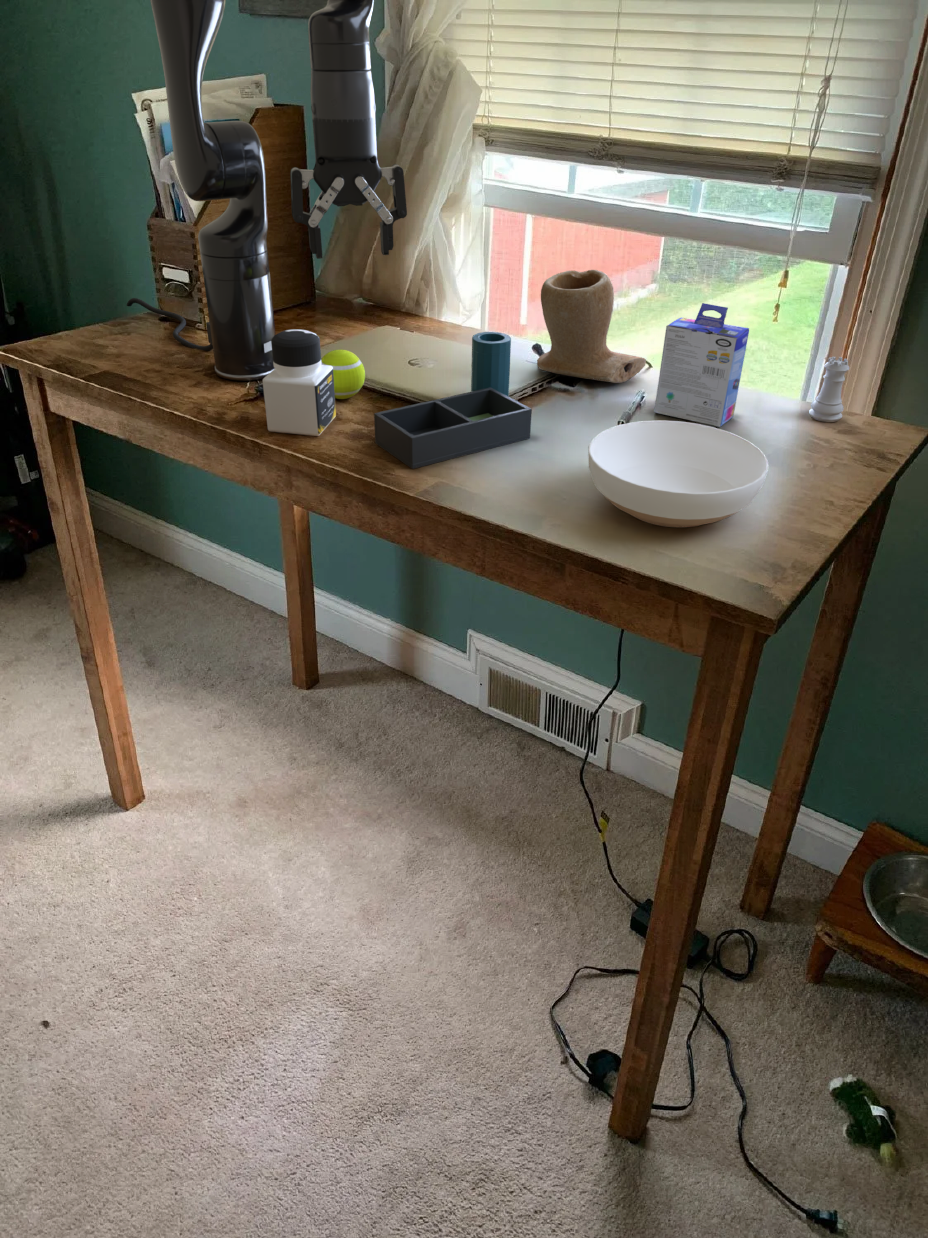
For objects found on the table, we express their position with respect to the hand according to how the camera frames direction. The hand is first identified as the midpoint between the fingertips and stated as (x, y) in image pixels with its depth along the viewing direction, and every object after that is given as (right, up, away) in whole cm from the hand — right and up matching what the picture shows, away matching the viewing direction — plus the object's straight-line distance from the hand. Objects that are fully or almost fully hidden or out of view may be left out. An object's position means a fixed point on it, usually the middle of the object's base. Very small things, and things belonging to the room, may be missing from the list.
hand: (352, 255), depth 121 cm
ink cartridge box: (+46, -19, +8) cm, 50 cm away
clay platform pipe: (+32, -11, +20) cm, 40 cm away
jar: (+18, -16, +11) cm, 27 cm away
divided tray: (+13, -24, -1) cm, 27 cm away
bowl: (+38, -34, -15) cm, 53 cm away
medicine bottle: (-7, -21, +3) cm, 23 cm away
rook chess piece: (+64, -19, +8) cm, 67 cm away
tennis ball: (-3, -16, +12) cm, 20 cm away
